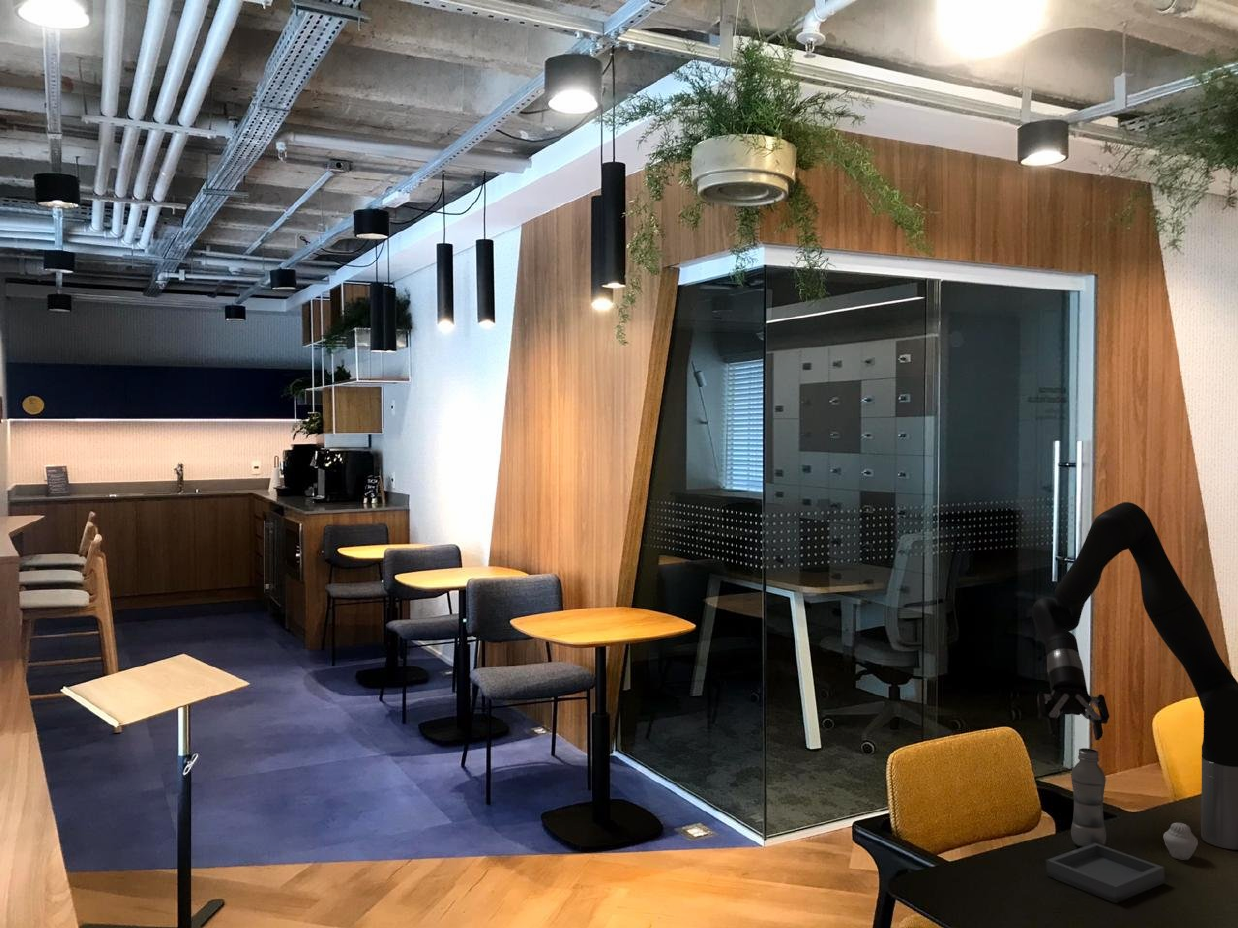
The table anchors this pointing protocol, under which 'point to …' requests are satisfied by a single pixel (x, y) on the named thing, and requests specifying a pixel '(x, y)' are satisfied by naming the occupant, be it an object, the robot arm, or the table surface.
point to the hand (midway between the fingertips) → (1077, 737)
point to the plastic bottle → (1088, 799)
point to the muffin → (1180, 841)
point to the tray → (1105, 872)
